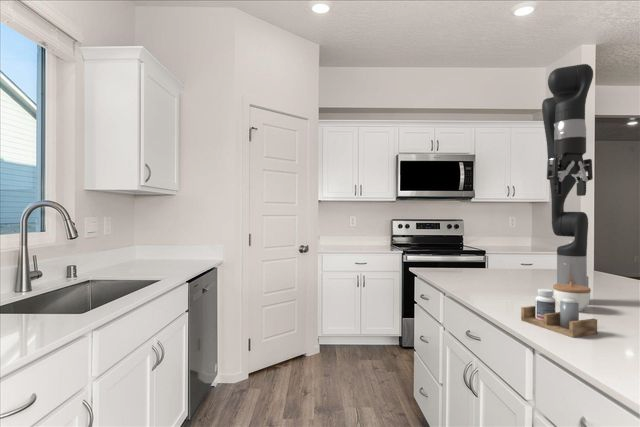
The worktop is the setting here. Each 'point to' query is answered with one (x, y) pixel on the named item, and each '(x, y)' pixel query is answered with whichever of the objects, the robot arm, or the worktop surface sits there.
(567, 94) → the robot arm
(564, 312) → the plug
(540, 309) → the pill bottle
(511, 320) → the worktop surface
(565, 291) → the lidded jar
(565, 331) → the rack
